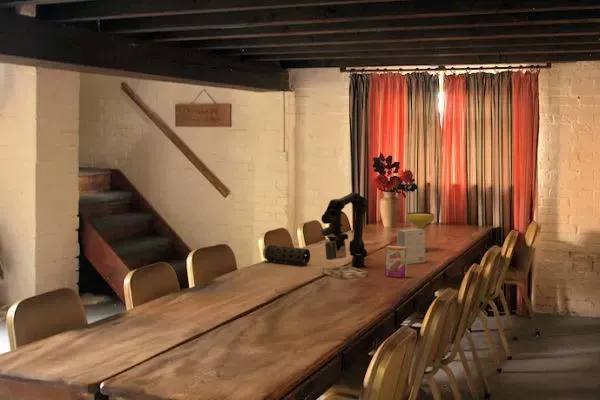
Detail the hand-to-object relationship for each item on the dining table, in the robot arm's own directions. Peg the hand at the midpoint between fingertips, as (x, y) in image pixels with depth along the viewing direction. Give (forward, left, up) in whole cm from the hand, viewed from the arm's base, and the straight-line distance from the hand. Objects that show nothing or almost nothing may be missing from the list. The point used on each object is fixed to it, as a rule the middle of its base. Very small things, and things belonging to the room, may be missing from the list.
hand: (335, 250), depth 415 cm
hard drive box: (-57, -10, -13) cm, 60 cm away
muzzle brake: (+14, -36, -13) cm, 41 cm away
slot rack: (-1, +9, -12) cm, 15 cm away
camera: (0, +1, -5) cm, 5 cm away
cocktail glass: (-88, -45, -13) cm, 100 cm away
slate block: (-1, +13, -13) cm, 19 cm away
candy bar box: (-24, +24, -13) cm, 37 cm away
